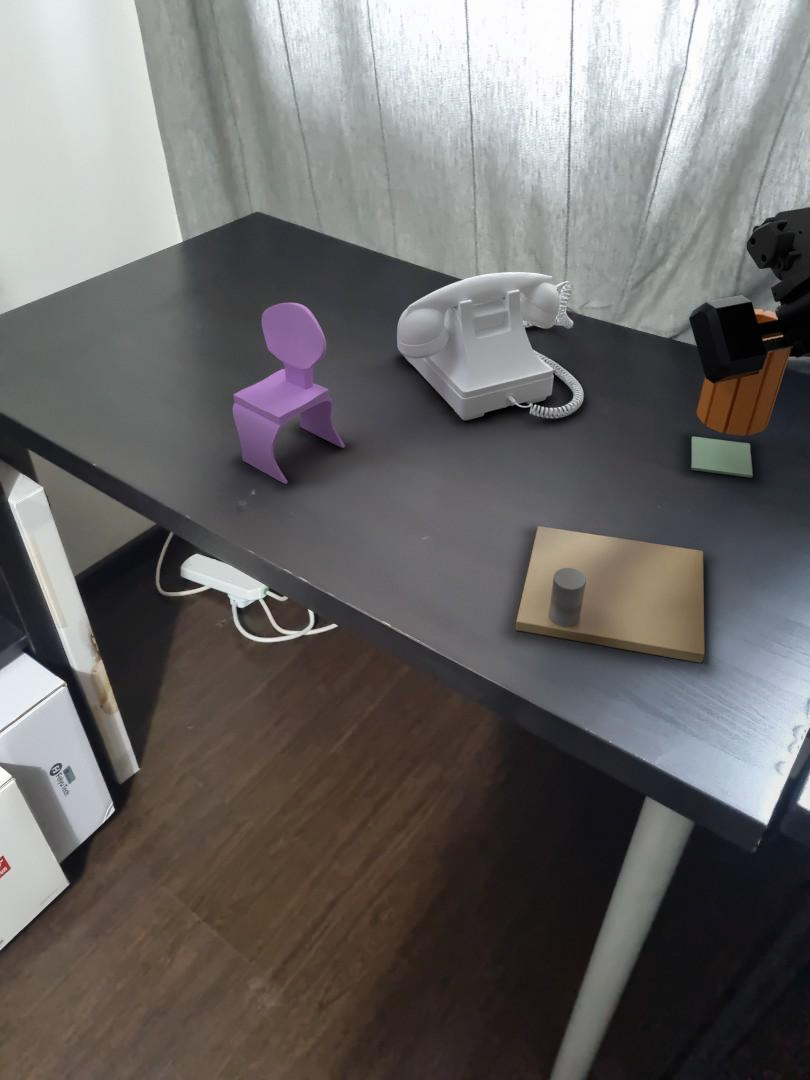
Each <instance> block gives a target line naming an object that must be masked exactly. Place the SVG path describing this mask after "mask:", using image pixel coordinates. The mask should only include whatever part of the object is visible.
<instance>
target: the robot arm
mask: <svg viewBox="0 0 810 1080" xmlns="http://www.w3.org/2000/svg"><path fill="white" fill-rule="evenodd" d="M746 251H747V253H748V254H749V256H750V257H751V259H752V261H753V262H754V263H755V265H756V267H757V268H758V269H759V270H765V269H770V270H771V271H772V273H773V274H774V276H775V277H776V279H778V280H779V282H778V283H776V284H774V285H772V286H771V287H770V290H771V294H772V297H773V301H774V302H775V303H779V304H780V305H777V307H775V308H774V313H776V316H777V318H778V320H773V321H768V322H763V323H758V322H757V318H756V315H755V311H754V309H755V308H754V305H753V301H752V300H749V299H748V298H747V297H745V296H743V295H742V294H740V295H735V296H730V297H724V298H720V299H714V300H709V301H706V302H704V303H702V304H700V305H699V306H697V307H696V308H695V309H693V310H692V311H691V313H690V315H689V317H688V321H689V324H690V327H691V331H692V334H693V338H694V341H695V345H696V348H697V352H698V356H699V359H700V362H701V366H702V370H703V373H704V378H705V377H706V379H708V380H709V381H711V382H712V383H713V384H714V383H719V382H723V381H728V380H732V379H737V378H741V377H746V376H751V375H755V374H759V371H760V370H762V369H763V366H764V363H765V360H766V359H767V356H768V352H773V351H778V350H783V349H787V348H792V349H791V352H790V355H789V358H795V359H798V358H799V359H800V358H810V206H808V207H807V206H806V207H801V208H794V209H790V210H789V209H788V210H783V211H779V212H777V213H776V214H775V215H774V216H771V217H766V218H765V219H764V221H763V222H762V223H761V224H758V225H754V227H752V233H751V235H750V236H749V238H748V239H747V241H746ZM781 335H783V337H778V338H774V339H773V338H772V339H770V340H769V339H767V340H763V339H766V338H771V337H776V336H781Z"/></svg>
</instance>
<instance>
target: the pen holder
mask: <svg viewBox="0 0 810 1080" xmlns="http://www.w3.org/2000/svg"><path fill="white" fill-rule="evenodd" d="M754 311H755V315H756V318H757V322H758V323H763V322H768V321H773V320H778V318H777V316H776V313H775V311H772V310H765V311H764V309H763V308H754ZM778 337H783V335H781V336H776V337H771V338H766V339H763V340H767V339H769V340H770V339H772V338H773V339H774V338H778ZM791 349H792V348H787V349H783V350H778V351H773V352H768V356H767V359H766V360H765V363H764V366H763V369H762V370H760V371H759V374H755V375H751V376H746V377H741V378H737V379H732V380H728V381H723V382H719V383H714V384H713V383H712V382H711V381H709V380H708V379H706V377H705V376H704V379H703V383H702V387H701V392H700V395H699V400H698V404H697V408H696V416H697V418H698V419H699V420H700V422H701V423H702V424H703V425H706V428H708V429H711V430H713V431H716V432H717V433H721V434H724V433H726V435H728V436H729V435H730V436H740V437H741V436H742V437H746V435H748V436H752V435H756V434H759V433H762V432H763V431H764V430H766V429H767V427H768V425H769V422H770V419H771V417H772V412H773V410H774V406H775V404H776V403H775V402H776V399H777V396H778V393H779V391H780V387H781V384H782V381H783V378H784V375H785V371H786V368H787V364H788V361H789V358H790V357H789V355H790V352H791Z"/></svg>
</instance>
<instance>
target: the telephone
mask: <svg viewBox="0 0 810 1080" xmlns="http://www.w3.org/2000/svg"><path fill="white" fill-rule="evenodd" d="M569 288H571V289H569ZM574 288H575V287H574V285H572V284H571V282H570V281H568V280H566V281H562V282H560V283H558V284H556V283H555V280H554V277H553V276H552V275H548V274H542V273H536V272H526V271H525V272H523V271H508V272H505V271H503V272H493V273H487V274H480V275H475V276H471V277H467V278H464V279H461V280H458V281H455V282H453V283H449V284H447V285H445V286H443V287H440V288H438V289H436V290H434V291H432V292H430V293H428V294H426V295H425V296H422V297H420V298H419V299H417V300H416V301H414V302H412V303H411V304H409V305H408V306H407V308H406V309H404V310H403V312H402V313H401V314H400V316H399V319H398V322H397V326H396V327H397V328H396V340H397V341H396V346H397V349H398V351H399V353H400V354H402V356H403V357H404V358H405V360H406V361H407V362H408V363H409V364H410V365H412V366H413V367H414V369H416V371H417V372H418V373H419V374H420V375H421V376H422V377H423V378H424V379H425V380H426V381H427V383H428V384H430V386H431V387H432V388H433V389H435V391H436V392H437V393H438V394H439V395H440V396H441V398H443V400H444V401H445V402H446V403H447V404H448V405H449V406H450V407H451V408H452V409H453V411H454V412H455V414H456V415H457V416H459V418H460V419H461V420H463V421H470V420H473V419H477V418H481V417H484V416H485V413H488V412H492V411H496V410H500V409H503V408H507V407H510V406H511V407H513V406H515V405H516V406H517V407H520V408H522V409H525V408H530V409H529V415H533V416H535V417H538V418H543V419H545V418H546V419H561V418H564V417H568V416H570V415H572V414H573V413H575V412H576V411H577V410H578V409H580V407H581V406H582V404H583V403H584V398H585V394H584V389H583V387H582V385H581V384H580V382H579V381H578V379H576V378H575V377H574V376H573V375H572V374H571V373H570V372H569V371H568V370H567V369H565V368H564V367H562V366H561V365H560V364H559V363H557V362H555V360H552V359H551V358H549V357H547V356H546V355H544V354H542V353H540V352H538V351H536V350H535V349H533V347H532V345H531V342H530V339H529V337H528V334H527V331H526V328H530V327H534V326H535V327H538V328H541V329H547V330H548V329H551V328H553V326H560V327H563V328H565V329H568V330H570V329H572V328H573V327H574V321H573V320H572V318H570V317H569V316H568V314H567V307H568V303H569V301H570V299H569V298H570V297H571V293H572V289H574ZM559 290H560V293H559ZM555 376H556V377H558V379H560V380H561V381H562V382H563V383H564V384H565V385H567V387H568V388H569V389H570V391H571V393H572V399H571V401H568V403H566V404H565V405H562V406H558V407H544V406H540V405H537V404H536V403H539V402H542V401H546V400H547V397H550V396H552V394H553V386H554V377H555ZM524 403H525V404H526V405H521V404H524ZM533 404H534V405H533ZM539 412H540V413H539ZM543 414H544V415H543Z"/></svg>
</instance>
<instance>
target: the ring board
mask: <svg viewBox="0 0 810 1080" xmlns="http://www.w3.org/2000/svg"><path fill="white" fill-rule="evenodd" d="M528 562H529V563H528V567H527V572H526V576H525V581H524V585H523V590H522V593H521V598H520V604H519V608H518V612H517V616H516V621H515V630H516V631H520V632H524V633H530V634H536V635H541V636H547V637H554V638H559V639H564V640H569V641H576V642H580V643H581V642H582V643H587V644H592V645H598V646H604V647H609V648H615V649H621V650H626V651H631V652H636V653H642V654H648V655H653V656H660V657H665V658H671V659H676V660H682V661H688V662H693V663H699V664H702V663H703V661H704V658H705V653H706V652H705V651H706V650H705V586H704V584H705V583H704V581H705V580H704V579H705V578H704V551H703V550H699V549H693V548H687V547H679V546H673V545H667V544H660V543H653V542H646V541H641V540H633V539H628V538H622V537H621V538H620V537H613V536H608V535H601V534H594V533H587V532H580V531H574V530H568V529H561V528H554V527H547V526H543V525H542V526H540V525H537V526H536V532H535V536H534V541H533V545H532V550H531V554H530V558H529V561H528Z"/></svg>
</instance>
